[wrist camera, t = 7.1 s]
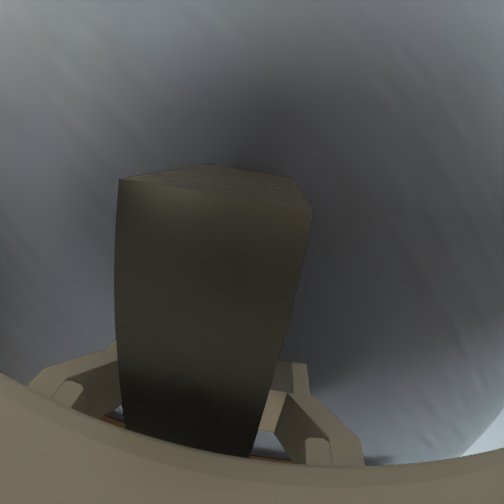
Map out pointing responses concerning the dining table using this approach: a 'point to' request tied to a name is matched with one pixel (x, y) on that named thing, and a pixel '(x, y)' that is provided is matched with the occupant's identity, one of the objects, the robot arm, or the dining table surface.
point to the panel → (204, 299)
